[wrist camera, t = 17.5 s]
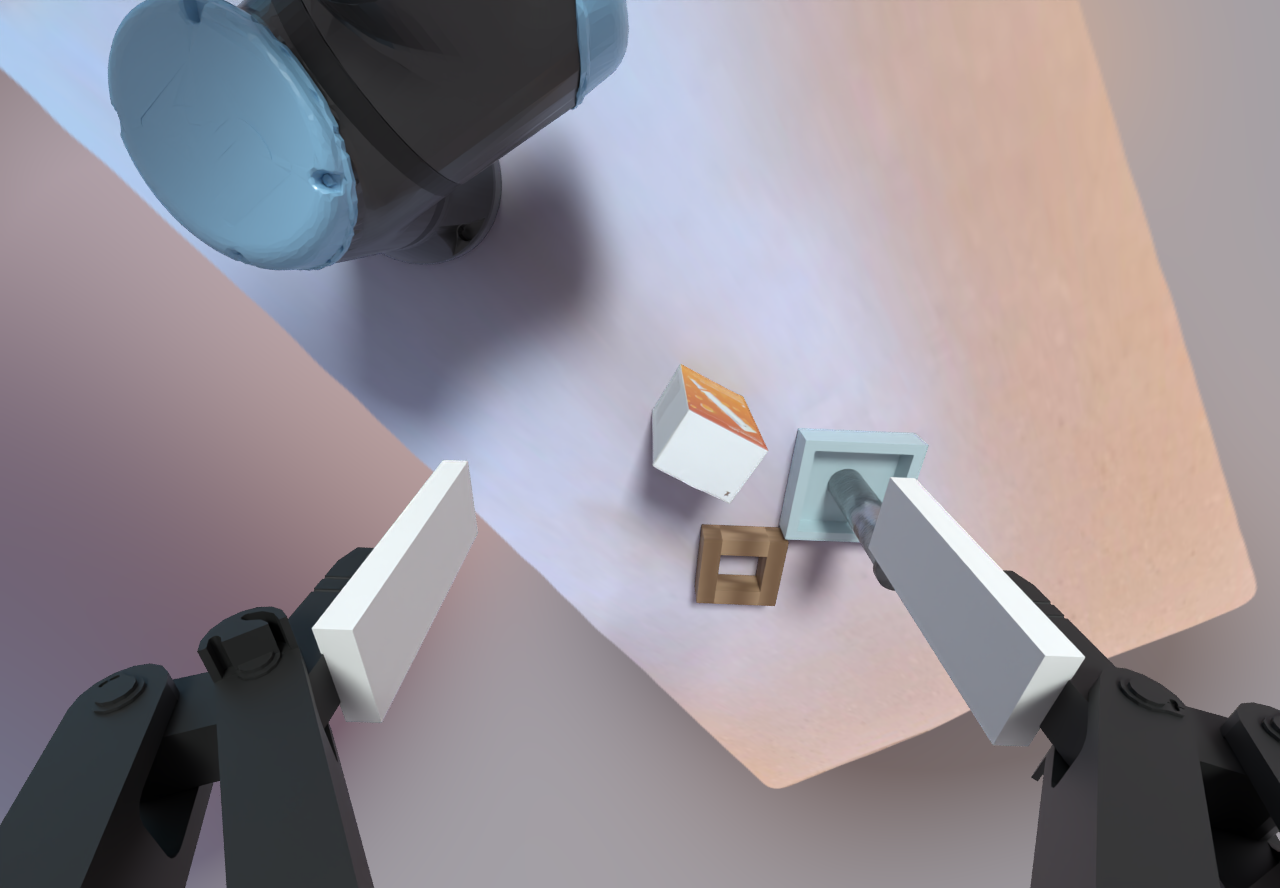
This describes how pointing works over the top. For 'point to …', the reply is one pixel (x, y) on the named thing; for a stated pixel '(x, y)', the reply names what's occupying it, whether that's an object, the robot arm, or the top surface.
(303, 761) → the robot arm
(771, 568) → the socket block
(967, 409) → the top surface
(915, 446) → the tray
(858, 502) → the pin
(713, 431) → the small box
